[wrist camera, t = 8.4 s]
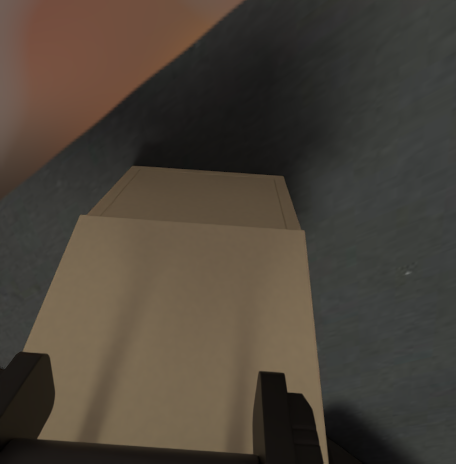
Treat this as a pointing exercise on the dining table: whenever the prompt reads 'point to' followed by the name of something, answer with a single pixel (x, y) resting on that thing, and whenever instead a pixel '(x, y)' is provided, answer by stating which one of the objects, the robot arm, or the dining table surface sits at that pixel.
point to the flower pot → (339, 454)
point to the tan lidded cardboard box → (200, 198)
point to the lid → (170, 341)
